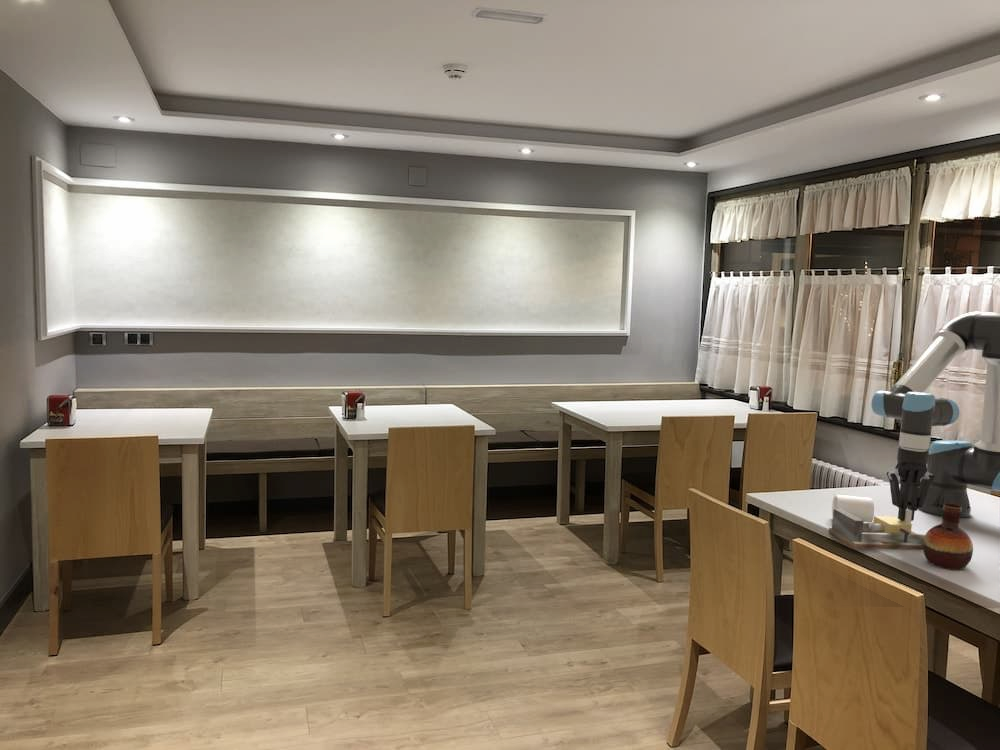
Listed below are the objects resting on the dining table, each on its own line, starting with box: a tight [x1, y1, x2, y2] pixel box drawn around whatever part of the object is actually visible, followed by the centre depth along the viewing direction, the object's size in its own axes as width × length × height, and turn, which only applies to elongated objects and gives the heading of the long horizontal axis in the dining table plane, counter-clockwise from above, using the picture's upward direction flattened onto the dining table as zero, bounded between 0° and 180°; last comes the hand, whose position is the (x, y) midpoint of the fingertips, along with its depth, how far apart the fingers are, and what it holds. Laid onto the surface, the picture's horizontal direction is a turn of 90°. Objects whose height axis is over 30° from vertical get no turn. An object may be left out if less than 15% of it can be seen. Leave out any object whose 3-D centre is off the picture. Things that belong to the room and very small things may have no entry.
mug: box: [831, 494, 875, 522], centre depth 234 cm, size 12×10×8 cm
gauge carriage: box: [869, 515, 913, 543], centre depth 213 cm, size 9×11×4 cm
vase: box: [922, 503, 974, 571], centre depth 197 cm, size 11×11×15 cm
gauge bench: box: [828, 509, 926, 551], centre depth 215 cm, size 24×14×7 cm, turn 95°
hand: (904, 531), depth 216 cm, fingers closed
